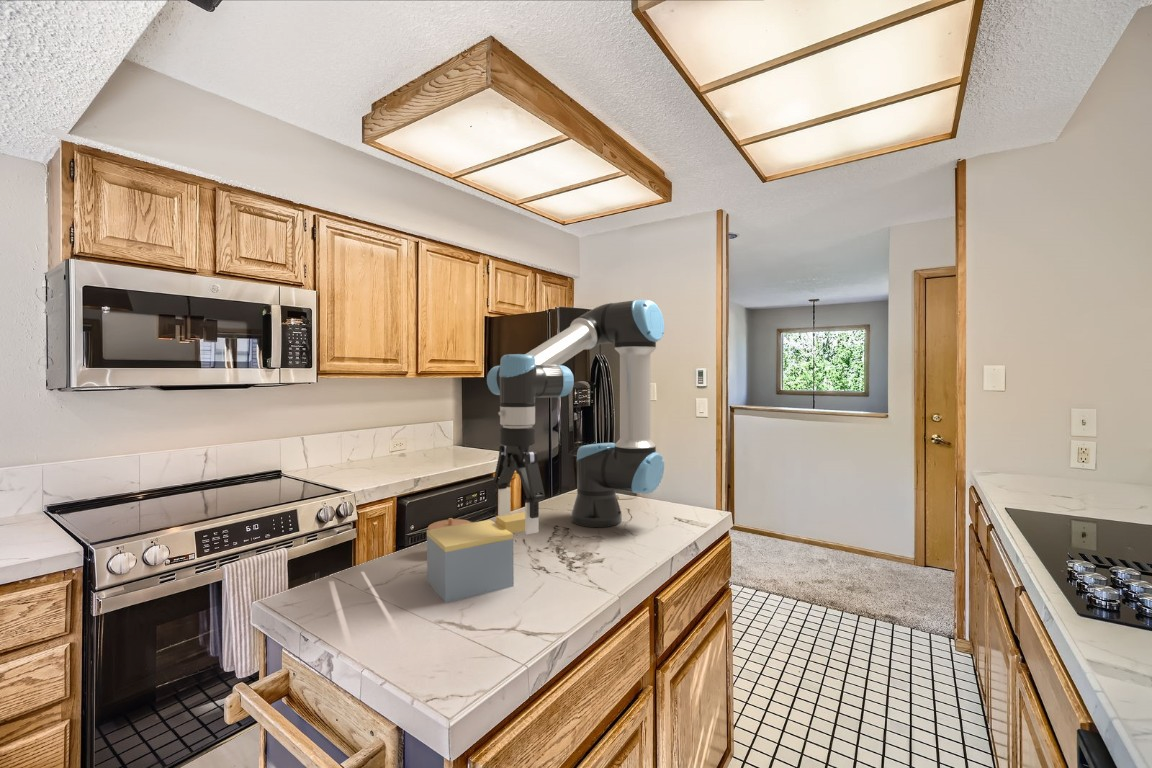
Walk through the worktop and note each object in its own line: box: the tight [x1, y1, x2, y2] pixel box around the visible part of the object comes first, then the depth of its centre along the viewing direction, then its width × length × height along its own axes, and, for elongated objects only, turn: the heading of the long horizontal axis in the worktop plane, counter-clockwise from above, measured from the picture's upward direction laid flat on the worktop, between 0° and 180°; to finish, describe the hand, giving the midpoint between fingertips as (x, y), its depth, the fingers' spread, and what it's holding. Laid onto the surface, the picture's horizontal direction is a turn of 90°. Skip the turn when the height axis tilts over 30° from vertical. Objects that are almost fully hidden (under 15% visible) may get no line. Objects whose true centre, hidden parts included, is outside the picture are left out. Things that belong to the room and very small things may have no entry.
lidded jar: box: [427, 517, 473, 530], centre depth 124 cm, size 11×11×9 cm
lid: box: [426, 511, 525, 552], centre depth 106 cm, size 21×12×2 cm, turn 122°
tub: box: [426, 535, 515, 604], centre depth 104 cm, size 14×12×11 cm
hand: (517, 524), depth 110 cm, fingers open, 13 cm apart
